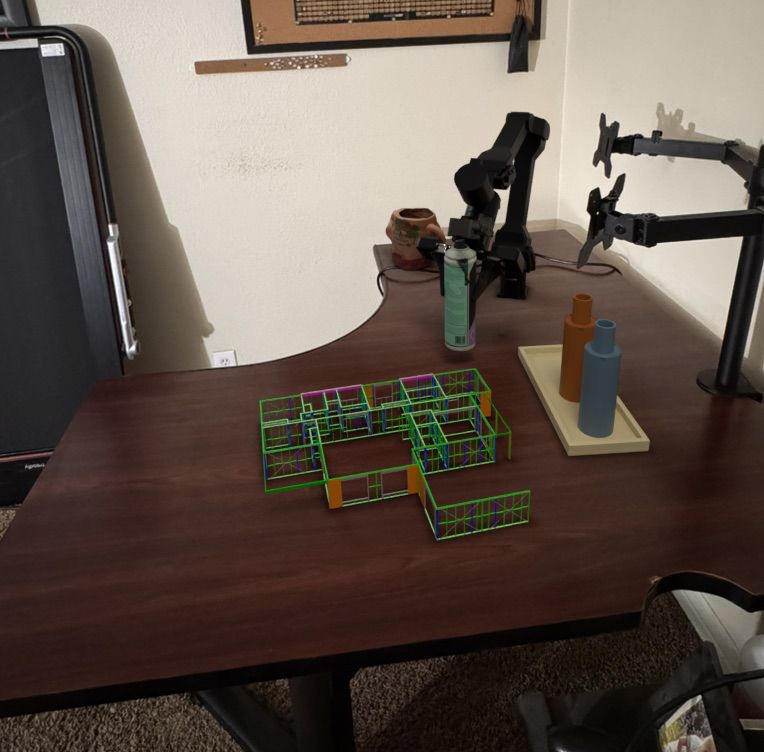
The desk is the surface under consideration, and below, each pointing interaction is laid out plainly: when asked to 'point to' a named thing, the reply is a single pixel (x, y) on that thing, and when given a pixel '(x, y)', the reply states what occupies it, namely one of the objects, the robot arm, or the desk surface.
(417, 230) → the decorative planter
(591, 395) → the slate bottle
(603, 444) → the tray
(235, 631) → the desk surface
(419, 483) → the house model
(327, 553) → the desk surface
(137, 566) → the desk surface
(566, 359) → the amber bottle
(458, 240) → the spray can
